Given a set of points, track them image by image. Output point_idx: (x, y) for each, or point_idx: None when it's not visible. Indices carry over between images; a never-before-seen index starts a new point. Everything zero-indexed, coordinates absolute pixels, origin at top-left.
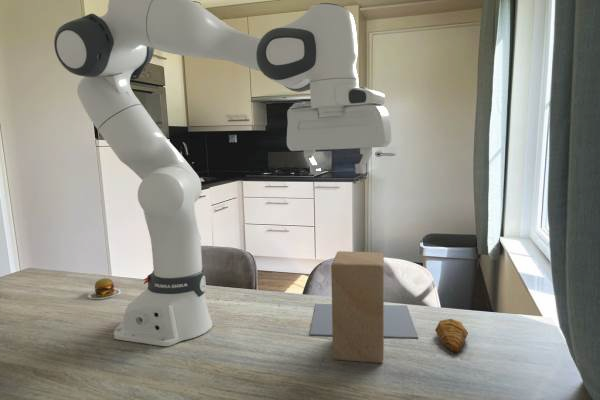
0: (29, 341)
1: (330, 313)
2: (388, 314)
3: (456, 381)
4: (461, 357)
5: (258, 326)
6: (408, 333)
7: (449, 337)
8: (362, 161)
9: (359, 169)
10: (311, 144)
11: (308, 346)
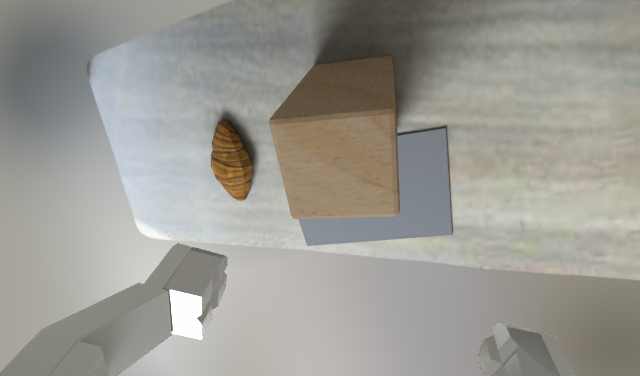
0: None
1: (420, 205)
2: None
3: (211, 46)
4: (216, 113)
5: (552, 140)
6: None
7: (227, 139)
8: (131, 297)
9: (186, 260)
10: None
11: (441, 89)
